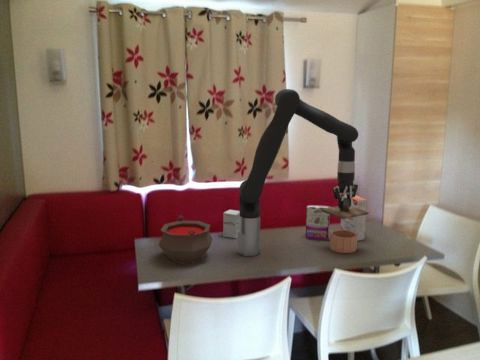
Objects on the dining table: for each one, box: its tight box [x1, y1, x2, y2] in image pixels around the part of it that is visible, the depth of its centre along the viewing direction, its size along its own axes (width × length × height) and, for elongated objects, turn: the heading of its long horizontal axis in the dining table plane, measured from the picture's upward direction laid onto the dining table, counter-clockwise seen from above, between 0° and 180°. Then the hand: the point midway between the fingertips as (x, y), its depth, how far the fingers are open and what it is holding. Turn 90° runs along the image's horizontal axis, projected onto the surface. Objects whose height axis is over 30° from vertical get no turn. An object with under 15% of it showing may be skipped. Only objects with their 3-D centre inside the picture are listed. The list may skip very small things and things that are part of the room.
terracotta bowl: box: [329, 229, 358, 254], centre depth 195 cm, size 12×12×7 cm
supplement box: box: [222, 209, 240, 239], centre depth 210 cm, size 7×7×13 cm
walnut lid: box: [321, 198, 370, 220], centre depth 190 cm, size 15×15×6 cm
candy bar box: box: [305, 204, 331, 241], centre depth 207 cm, size 11×5×16 cm, turn 73°
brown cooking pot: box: [158, 215, 213, 264], centre depth 181 cm, size 24×24×16 cm
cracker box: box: [339, 194, 368, 242], centre depth 210 cm, size 14×6×21 cm, turn 17°
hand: (344, 207), depth 191 cm, fingers closed on walnut lid, 4 cm apart
